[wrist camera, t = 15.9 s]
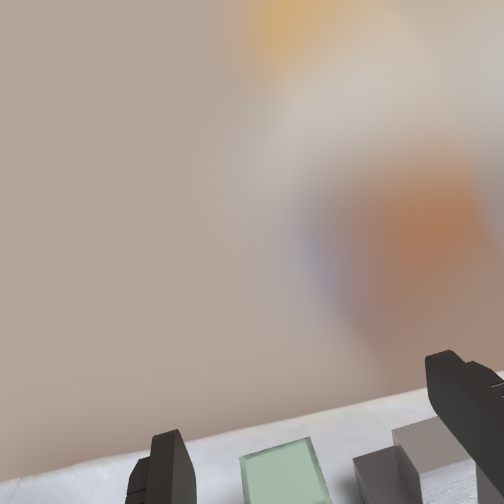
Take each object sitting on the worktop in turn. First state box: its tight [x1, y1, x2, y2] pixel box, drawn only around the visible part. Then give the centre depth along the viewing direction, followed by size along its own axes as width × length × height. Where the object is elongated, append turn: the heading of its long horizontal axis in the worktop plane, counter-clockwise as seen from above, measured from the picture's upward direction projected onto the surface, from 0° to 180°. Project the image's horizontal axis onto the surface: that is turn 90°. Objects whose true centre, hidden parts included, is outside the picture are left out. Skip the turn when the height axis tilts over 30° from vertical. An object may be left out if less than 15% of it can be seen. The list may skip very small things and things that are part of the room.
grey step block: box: [353, 416, 504, 504], centre depth 30 cm, size 10×8×8 cm
